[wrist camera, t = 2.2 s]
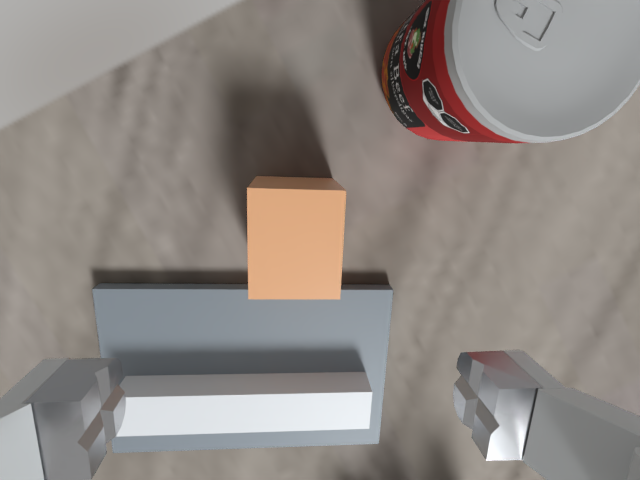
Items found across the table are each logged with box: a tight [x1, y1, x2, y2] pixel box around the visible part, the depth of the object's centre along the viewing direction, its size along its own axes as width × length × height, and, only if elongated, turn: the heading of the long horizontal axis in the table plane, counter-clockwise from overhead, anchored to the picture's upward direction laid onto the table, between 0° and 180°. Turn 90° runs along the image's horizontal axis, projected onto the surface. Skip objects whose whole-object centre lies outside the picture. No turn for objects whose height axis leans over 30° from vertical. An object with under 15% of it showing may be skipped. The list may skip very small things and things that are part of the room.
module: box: [247, 176, 346, 299], centre depth 23 cm, size 5×6×6 cm
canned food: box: [382, 0, 640, 143], centre depth 19 cm, size 8×8×11 cm
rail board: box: [92, 283, 393, 453], centre depth 27 cm, size 20×13×3 cm, turn 88°
